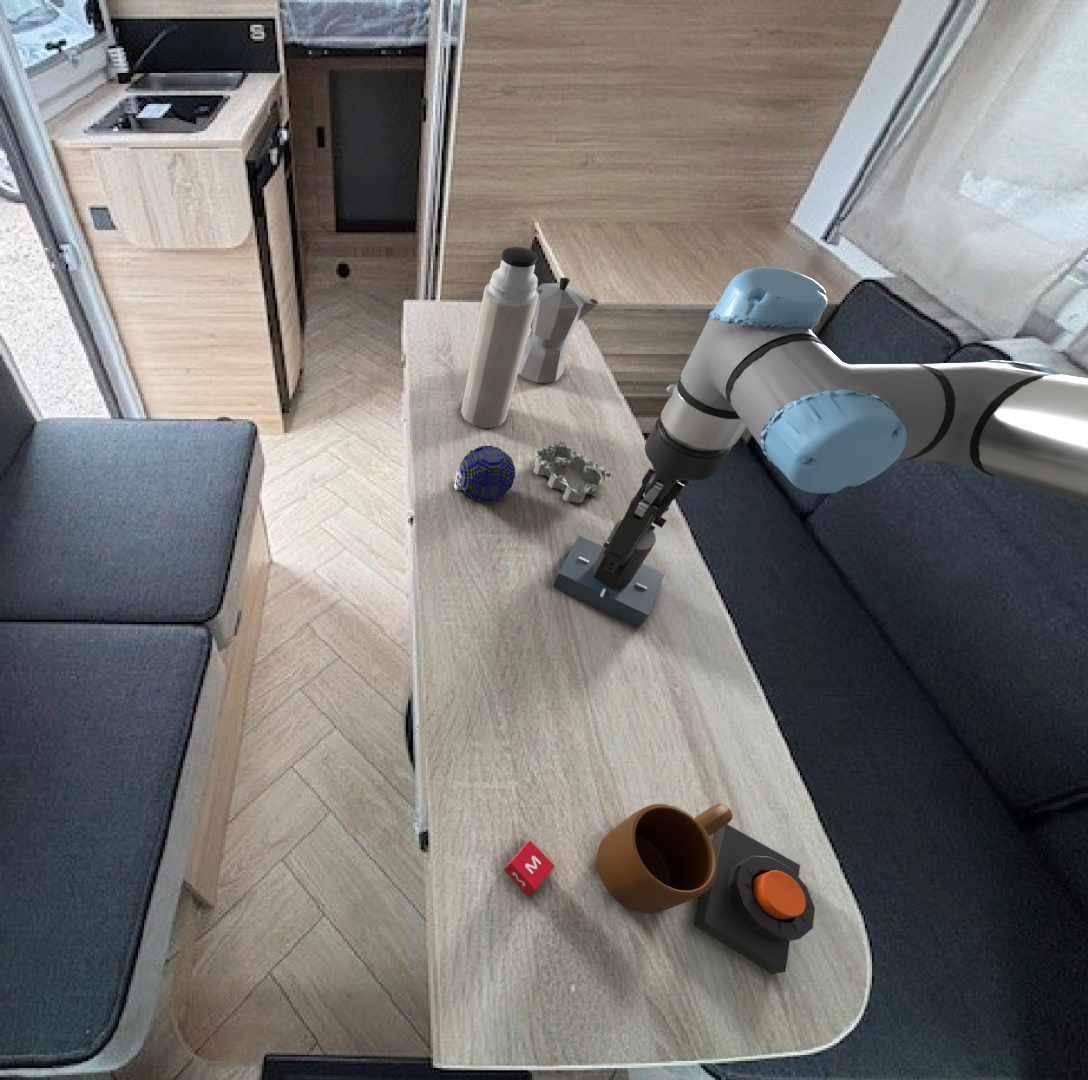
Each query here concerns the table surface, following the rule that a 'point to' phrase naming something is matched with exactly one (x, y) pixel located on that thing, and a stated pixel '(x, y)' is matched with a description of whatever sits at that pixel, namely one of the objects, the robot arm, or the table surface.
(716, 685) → the table surface
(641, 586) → the dial panel
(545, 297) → the coffeepot
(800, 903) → the round orange button
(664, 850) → the mug
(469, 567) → the table surface
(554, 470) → the grey jagged hollow block
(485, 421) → the thermos bottle
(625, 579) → the temp dial
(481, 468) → the ball
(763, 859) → the push button switch
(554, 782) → the table surface
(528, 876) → the dice
